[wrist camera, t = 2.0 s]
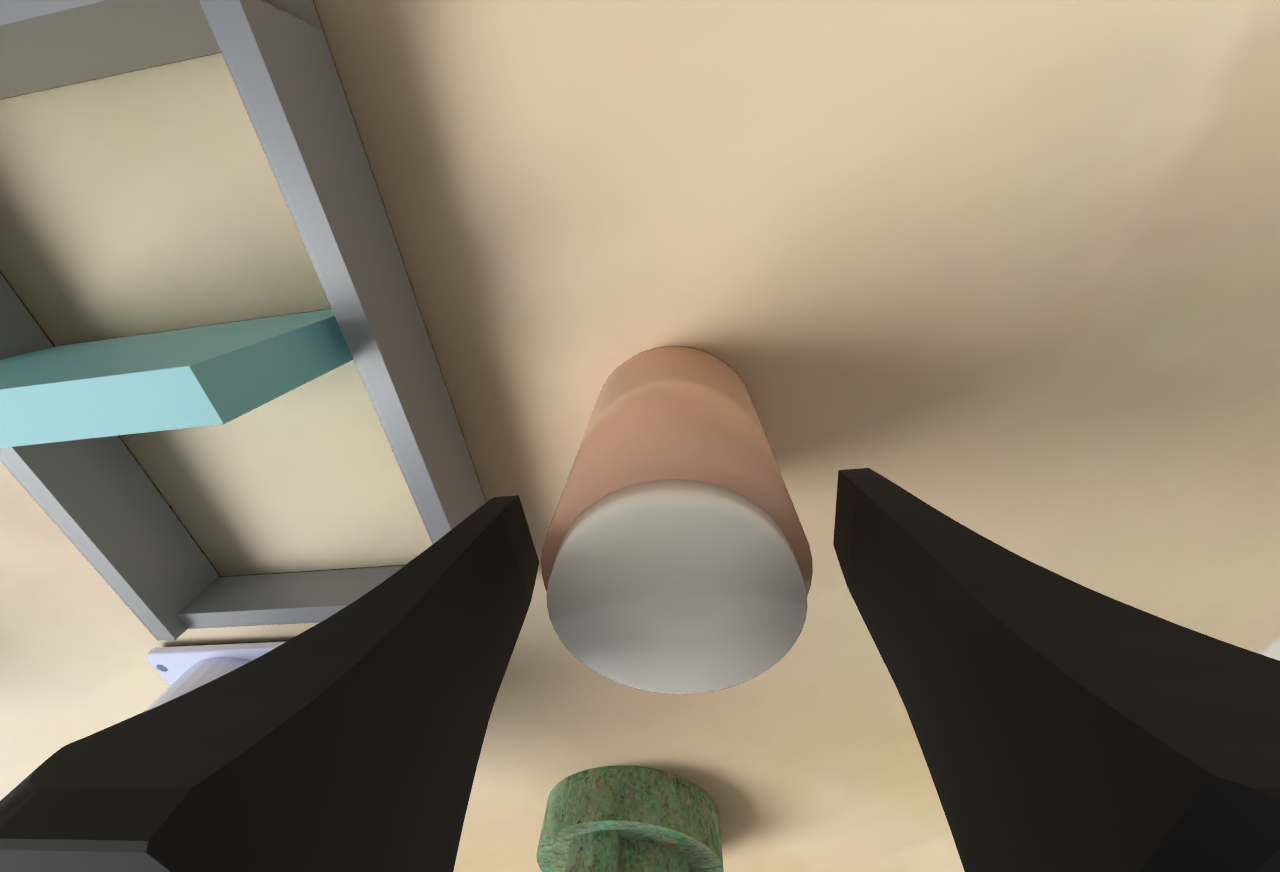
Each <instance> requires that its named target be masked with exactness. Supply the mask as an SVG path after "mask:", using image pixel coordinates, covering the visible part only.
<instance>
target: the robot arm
mask: <svg viewBox="0 0 1280 872" xmlns="http://www.w3.org/2000/svg"><path fill="white" fill-rule="evenodd" d="M833 545H834V548H835V551H836V554H837V557H838V560H839V563H840V567H841V570H842V572H843V575H844V578H845V581H846V584H847V587H848V589H849V591H850V593H851V595H852V597H853V599H854V601H855V603H856V605H857V607H858V610H859V612H860V614H861V616H862V618H863V620H864V622H865V624H866V626H867V628H868V630H869V632H870V634H871V636H872V638H873V640H874V642H875V644H876V646H877V648H878V650H879V652H880V654H881V656H882V658H883V661H884V663H885V665H886V667H887V669H888V671H889V673H890V675H891V677H892V679H893V681H894V683H895V685H896V687H897V689H898V692H899V694H900V696H901V698H902V701H903V703H904V705H905V707H906V710H907V712H908V715H909V717H910V720H911V723H912V725H913V728H914V731H915V733H916V736H917V739H918V741H919V744H920V747H921V749H922V752H923V754H924V757H925V760H926V762H927V765H928V768H929V771H930V773H931V776H932V779H933V782H934V784H935V787H936V790H937V793H938V796H939V798H940V801H941V804H942V807H943V810H944V812H945V815H946V818H947V821H948V824H949V826H950V829H951V832H952V835H953V838H954V841H955V844H956V847H957V850H958V853H959V856H960V859H961V862H962V865H963V868H964V871H965V872H1280V661H1278V660H1275V659H1272V658H1269V657H1266V656H1264V655H1261V654H1258V653H1255V652H1252V651H1249V650H1246V649H1243V648H1240V647H1237V646H1234V645H1232V644H1229V643H1226V642H1223V641H1220V640H1218V639H1215V638H1212V637H1209V636H1207V635H1204V634H1201V633H1199V632H1196V631H1193V630H1190V629H1188V628H1185V627H1182V626H1180V625H1177V624H1174V623H1172V622H1169V621H1167V620H1164V619H1162V618H1159V617H1157V616H1154V615H1152V614H1149V613H1147V612H1144V611H1142V610H1139V609H1137V608H1134V607H1132V606H1129V605H1127V604H1124V603H1122V602H1119V601H1117V600H1114V599H1112V598H1110V597H1107V596H1105V595H1103V594H1100V593H1098V592H1096V591H1093V590H1091V589H1089V588H1086V587H1084V586H1082V585H1080V584H1077V583H1075V582H1073V581H1071V580H1069V579H1067V578H1064V577H1062V576H1060V575H1058V574H1056V573H1054V572H1052V571H1049V570H1047V569H1045V568H1043V567H1041V566H1039V565H1037V564H1034V563H1032V562H1030V561H1028V560H1026V559H1024V558H1022V557H1020V556H1018V555H1016V554H1015V553H1013V552H1011V551H1009V550H1007V549H1005V548H1003V547H1001V546H1000V545H998V544H996V543H994V542H992V541H990V540H988V539H987V538H985V537H983V536H981V535H979V534H977V533H975V532H974V531H972V530H970V529H968V528H967V527H965V526H963V525H961V524H960V523H958V522H956V521H955V520H953V519H951V518H950V517H948V516H946V515H945V514H943V513H941V512H940V511H938V510H936V509H935V508H933V507H931V506H930V505H928V504H926V503H925V502H923V501H922V500H920V499H918V498H917V497H915V496H914V495H912V494H910V493H909V492H907V491H906V490H904V489H902V488H901V487H899V486H898V485H896V484H894V483H893V482H891V481H890V480H888V479H886V478H885V477H883V476H882V475H880V474H878V473H876V472H875V471H873V470H871V469H869V468H863V469H850V470H839V472H838V486H837V501H836V515H835V529H834V544H833ZM538 565H539V560H538V557H537V554H536V551H535V547H534V544H533V541H532V537H531V534H530V531H529V528H528V524H527V521H526V518H525V515H524V511H523V508H522V505H521V501H520V498H519V495H518V496H505V497H494V498H492V499H491V500H489V501H488V502H486V503H485V504H484V505H482V506H481V507H480V508H478V509H477V510H476V511H474V512H473V513H472V514H471V515H469V516H468V517H467V518H465V519H464V520H463V521H462V522H460V523H459V524H458V525H457V526H455V527H454V528H453V529H452V530H450V531H449V532H448V533H447V534H445V535H444V536H443V537H442V538H440V539H439V540H438V541H437V542H435V543H434V544H433V545H432V546H430V547H429V548H428V549H427V550H425V551H424V552H423V553H421V554H420V555H419V556H417V557H416V558H415V559H413V560H412V561H411V562H409V563H408V564H406V565H405V566H404V567H402V568H401V569H400V570H398V571H397V572H396V573H394V574H393V575H392V576H390V577H389V578H388V579H386V580H385V581H383V582H382V583H381V584H379V585H378V586H376V587H375V588H373V589H372V590H371V591H369V592H368V593H366V594H365V595H363V596H362V597H360V598H359V599H357V600H356V601H354V602H352V603H351V604H349V605H348V606H346V607H345V608H343V609H341V610H340V611H338V612H337V613H335V614H334V615H332V616H330V617H329V618H327V619H325V620H324V621H322V622H320V623H319V624H317V625H315V626H314V627H312V628H310V629H308V630H306V631H305V632H303V633H301V634H299V635H298V636H296V637H294V638H292V639H290V640H289V641H287V642H266V643H244V644H222V645H200V646H178V647H157V648H153V649H152V650H151V651H150V652H149V653H148V654H147V655H146V660H147V662H148V663H149V664H150V665H151V666H152V667H153V668H154V669H155V670H156V671H157V672H158V674H159V675H160V676H161V677H162V678H163V679H164V680H165V681H166V682H167V683H168V684H169V686H170V687H169V688H168V689H167V690H166V691H164V692H163V693H162V694H161V695H160V696H159V697H158V698H157V699H156V700H155V701H154V702H153V703H152V704H151V705H150V706H149V707H148V708H147V709H146V710H145V711H144V712H143V713H141V714H138V715H136V716H134V717H132V718H129V719H127V720H125V721H122V722H120V723H118V724H115V725H113V726H111V727H108V728H106V729H104V730H101V731H99V732H97V733H95V734H92V735H90V736H88V737H85V738H83V739H80V740H78V741H75V742H73V743H70V744H68V745H66V746H64V747H63V748H61V749H60V750H58V751H57V752H56V753H54V754H53V755H52V756H51V757H50V758H48V759H47V760H46V761H45V762H44V763H42V764H41V765H40V766H39V767H38V768H37V769H36V770H35V771H33V772H32V773H31V774H30V775H29V776H28V777H27V778H26V779H24V780H23V781H22V782H21V783H20V784H19V785H18V786H17V787H16V788H14V789H13V790H12V791H11V792H10V793H9V794H8V795H7V796H5V797H4V798H3V799H2V800H1V801H0V872H453V870H454V865H455V860H456V856H457V851H458V846H459V841H460V837H461V832H462V827H463V822H464V818H465V814H466V810H467V805H468V801H469V797H470V793H471V789H472V784H473V780H474V776H475V772H476V767H477V764H478V760H479V756H480V752H481V748H482V744H483V741H484V737H485V733H486V729H487V725H488V721H489V718H490V715H491V711H492V708H493V705H494V702H495V699H496V696H497V693H498V690H499V688H500V685H501V682H502V679H503V677H504V674H505V671H506V669H507V666H508V663H509V660H510V658H511V655H512V652H513V650H514V647H515V644H516V641H517V639H518V636H519V633H520V630H521V628H522V625H523V622H524V619H525V616H526V614H527V611H528V608H529V605H530V602H531V598H532V594H533V589H534V585H535V580H536V575H537V570H538Z"/></svg>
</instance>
